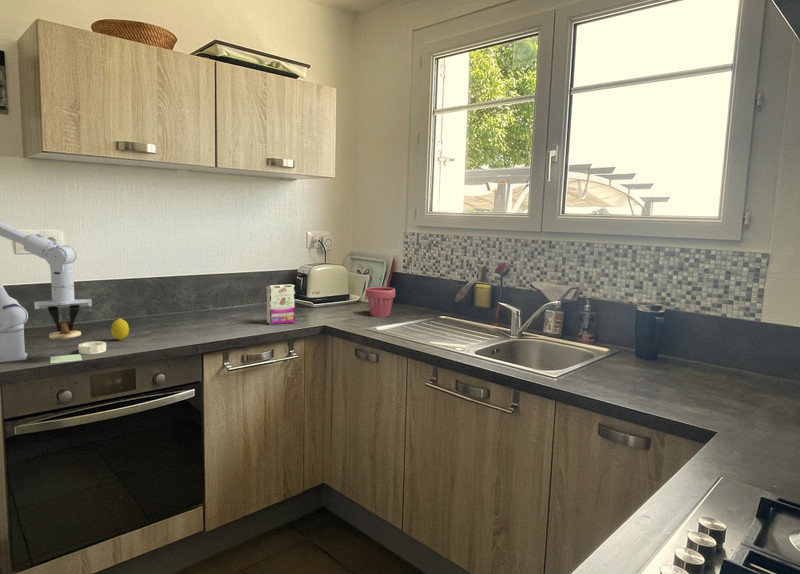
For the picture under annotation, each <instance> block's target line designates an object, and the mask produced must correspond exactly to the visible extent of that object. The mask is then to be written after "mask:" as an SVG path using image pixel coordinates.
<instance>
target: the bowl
mask: <svg viewBox="0 0 800 574" xmlns="http://www.w3.org/2000/svg"><path fill="white" fill-rule="evenodd" d="M77 345H78V354H81V355H96V354H101V353H105V352H106V351H107V342H105V341H86V342H82V343H78V344H77Z"/></svg>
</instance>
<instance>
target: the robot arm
mask: <svg viewBox="0 0 800 574" xmlns="http://www.w3.org/2000/svg"><path fill="white" fill-rule="evenodd" d="M0 237H2V238H5V239H7V240H10V241H12V242H14V243H16V244H20V245H22V248H23V249H24V251H26V252H28V253H30V254H32V255H35V256H37V257H39V258H41V259H43V260H45V261H46V262H47V264H48V265H49V269H50V278H51V280H50V281H51V299H50V300H42V301H41V300H40V301H34V304H33V305H34V310H40V309H47V310H48V313H49V314H50V316H51V318H52V319H53V321H54V324H55V327H56V332H60V324H59V322H60V317H59V308H68V309H69V322H70V331H74V324H75V321H76V318H77V315H78V313H79V311H80V307H92V306H93V305H92V298H86V299H85V298H83V299H81V298H80V299H79V298H78V299H76V298H75V282H74V281H75V280H74V279H75V277H74V263H75V262H76V259H77V251H75V249H74V248H73V247H71V246H70V245H69V244H67V245H66V244H65V245H64V244H63V245H61V244H60V242H59V241H53V240H51V239H49V238H46V237H45V234H42V233H32V234H28V233H26V232H24V231H21V230H19V229H18V228H16V227H14V226H12V225H11V224H8V223H6V222H4V221H3V220H0ZM28 320H29V314H28V311H27V310H26V309H25V307H23V306H21V304H20V303H19V302H18V300H17V299H15V298H13V297H11V296H9V294H8V292H7V291H6V289H5V287H4V285H3V283H2V282H1V281H0V363H3V362H14V361H23V360H24V361H26V360H27V358H28V357H27V356H28V352H25V351H26V348H25V330H24V328H25V324H26V322H27V321H28Z"/></svg>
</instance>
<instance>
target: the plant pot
mask: <svg viewBox="0 0 800 574" xmlns="http://www.w3.org/2000/svg"><path fill="white" fill-rule="evenodd" d="M365 297H366V299H367V304H368V308H369V314H370V316H371V317H379V318H380V317H381V318H384V317H388V316H391V315H390V314H391V310H392V306H393V301H394V298H396V289H395V288H394V287H388V286H387V287H385V286H373V287H367V288H365Z"/></svg>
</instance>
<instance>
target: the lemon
mask: <svg viewBox="0 0 800 574" xmlns="http://www.w3.org/2000/svg"><path fill="white" fill-rule="evenodd" d="M129 331H130V328H129V324H128V322H127V321H126V320H125V319H122V318H118V319H116V320H114V321H113V322H112V324H111V329H110V332H111V335H112V337H113V338H115V339H116V340H118V341H122V340H123V339H125V338H127V336H128V335H129Z"/></svg>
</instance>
